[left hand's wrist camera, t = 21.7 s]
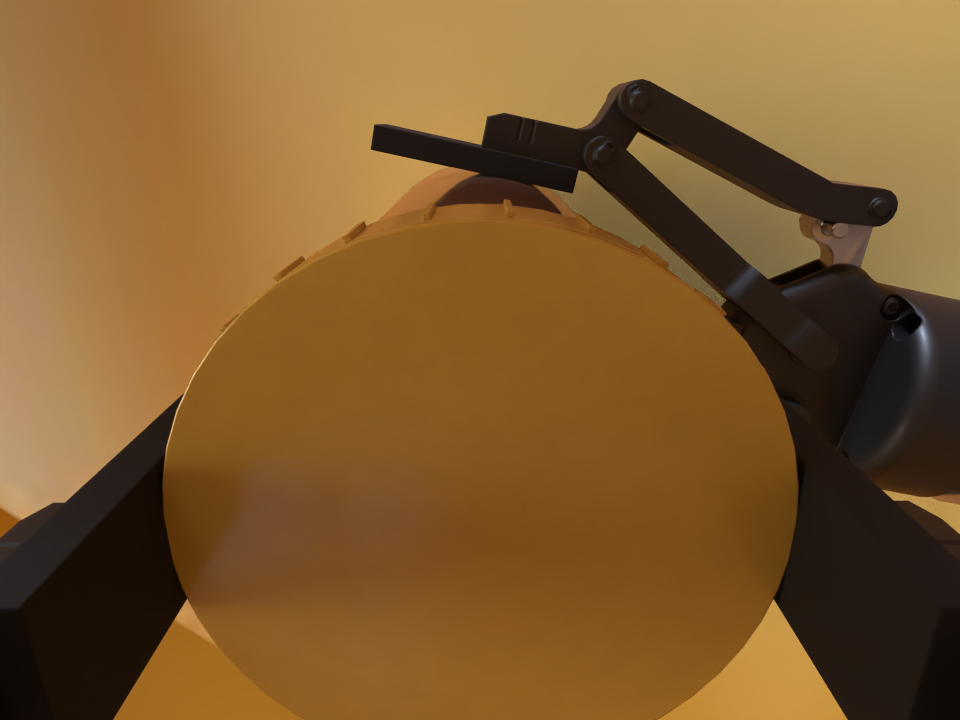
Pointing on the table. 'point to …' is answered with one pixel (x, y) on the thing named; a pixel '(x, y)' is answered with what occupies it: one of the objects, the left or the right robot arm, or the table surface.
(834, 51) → the table surface
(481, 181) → the jar
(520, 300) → the lid
